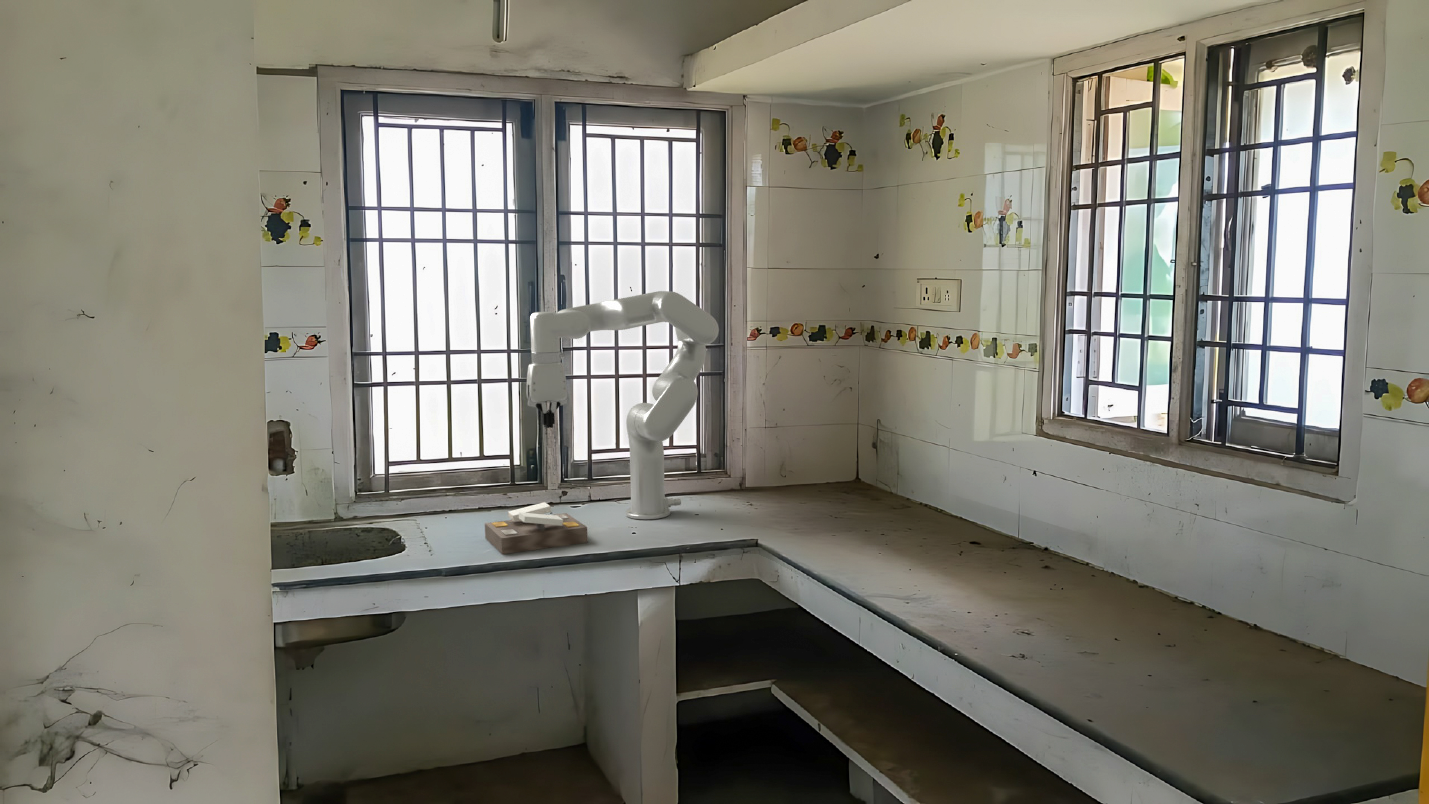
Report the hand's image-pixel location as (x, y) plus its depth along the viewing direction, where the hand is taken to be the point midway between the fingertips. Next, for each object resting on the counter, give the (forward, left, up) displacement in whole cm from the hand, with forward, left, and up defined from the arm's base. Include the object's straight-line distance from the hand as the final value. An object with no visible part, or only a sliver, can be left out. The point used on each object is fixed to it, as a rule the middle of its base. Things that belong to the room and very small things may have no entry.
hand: (548, 427), depth 277 cm
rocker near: (+8, +17, -22) cm, 28 cm away
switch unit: (+8, +12, -27) cm, 31 cm away
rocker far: (+8, +8, -22) cm, 24 cm away
